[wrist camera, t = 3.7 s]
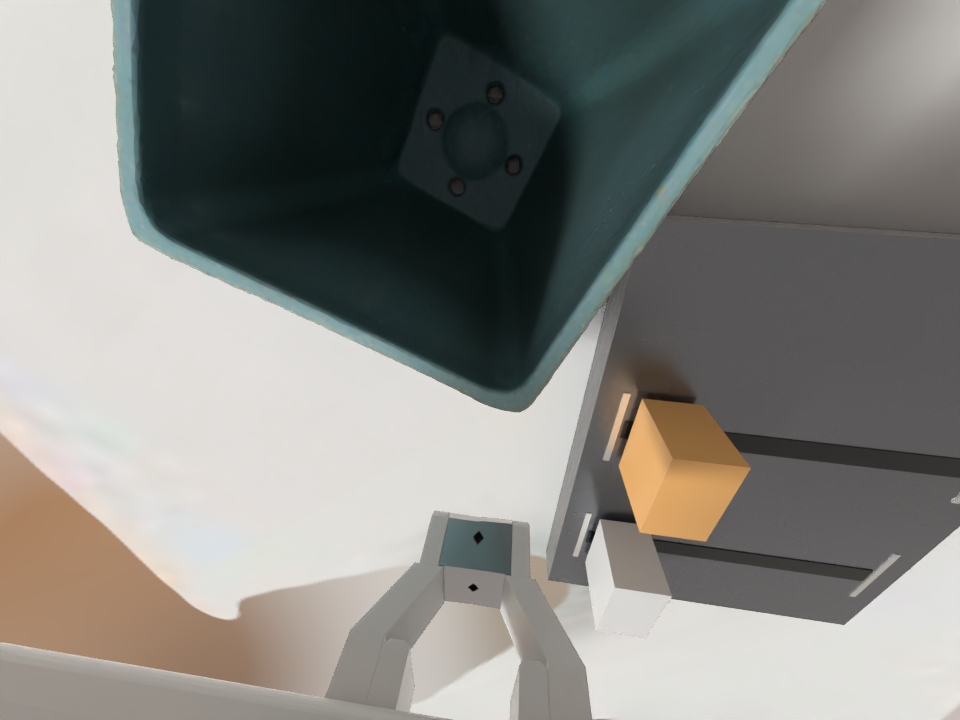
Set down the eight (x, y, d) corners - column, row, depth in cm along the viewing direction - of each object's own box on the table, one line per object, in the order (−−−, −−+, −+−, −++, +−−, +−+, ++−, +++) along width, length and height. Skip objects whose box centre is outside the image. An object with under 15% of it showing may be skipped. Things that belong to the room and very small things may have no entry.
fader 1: (627, 568, 20) (646, 638, 17) (585, 562, 20) (595, 630, 17) (647, 525, 18) (671, 596, 15) (600, 519, 18) (614, 587, 15)
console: (819, 589, 23) (844, 625, 21) (546, 550, 24) (548, 580, 22) (1161, 247, 12) (1273, 261, 10) (629, 212, 13) (645, 218, 11)
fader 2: (672, 472, 16) (705, 541, 13) (618, 465, 16) (639, 532, 13) (703, 405, 14) (751, 468, 11) (642, 398, 14) (672, 458, 11)
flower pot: (656, 69, 11) (961, -167, 3) (522, 297, 15) (519, 425, 8) (412, -91, 10) (25, -987, 2) (340, 201, 14) (118, 236, 7)
